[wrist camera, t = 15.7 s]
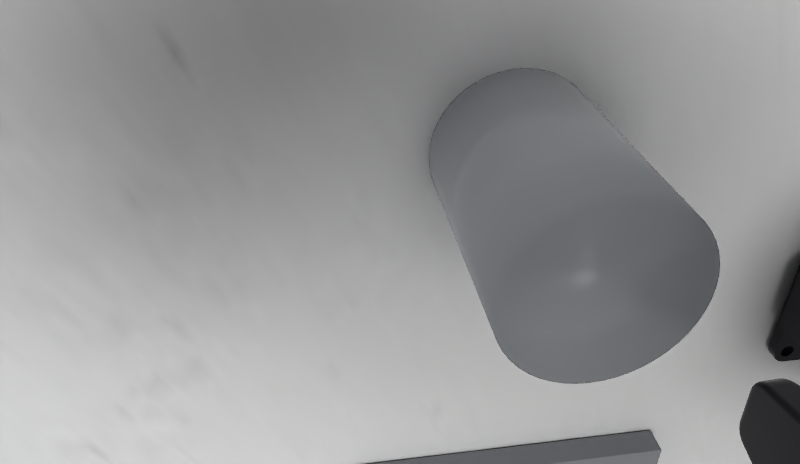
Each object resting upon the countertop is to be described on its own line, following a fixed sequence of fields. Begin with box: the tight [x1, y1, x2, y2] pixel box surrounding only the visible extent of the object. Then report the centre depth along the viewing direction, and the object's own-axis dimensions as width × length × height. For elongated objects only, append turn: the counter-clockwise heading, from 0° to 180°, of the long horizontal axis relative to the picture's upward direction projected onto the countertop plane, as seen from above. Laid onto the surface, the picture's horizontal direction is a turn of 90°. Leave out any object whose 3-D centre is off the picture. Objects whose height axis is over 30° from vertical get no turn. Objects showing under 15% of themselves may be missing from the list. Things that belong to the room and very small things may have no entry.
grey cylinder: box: [429, 68, 720, 384], centre depth 18 cm, size 5×5×7 cm
